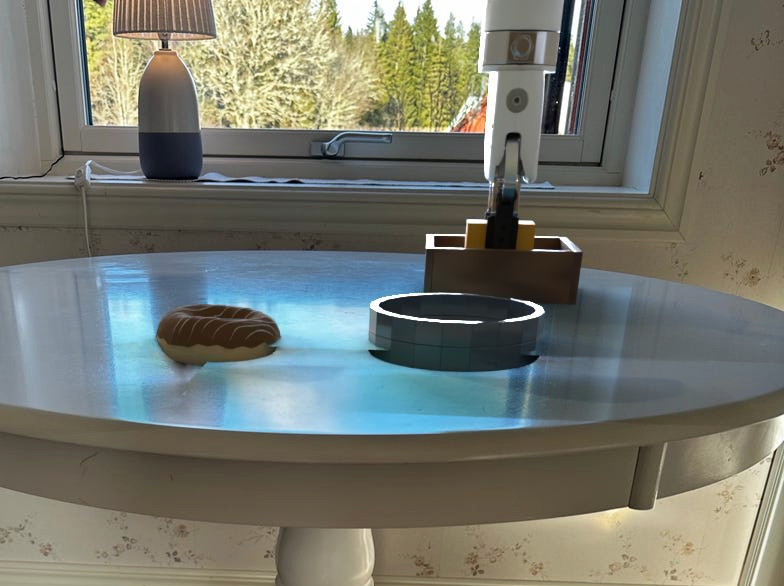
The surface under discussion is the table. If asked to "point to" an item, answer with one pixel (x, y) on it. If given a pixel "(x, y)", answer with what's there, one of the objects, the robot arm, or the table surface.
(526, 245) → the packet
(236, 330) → the donut
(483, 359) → the bowl
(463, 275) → the box
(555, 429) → the table surface
